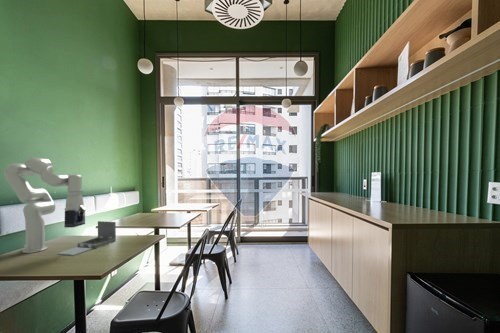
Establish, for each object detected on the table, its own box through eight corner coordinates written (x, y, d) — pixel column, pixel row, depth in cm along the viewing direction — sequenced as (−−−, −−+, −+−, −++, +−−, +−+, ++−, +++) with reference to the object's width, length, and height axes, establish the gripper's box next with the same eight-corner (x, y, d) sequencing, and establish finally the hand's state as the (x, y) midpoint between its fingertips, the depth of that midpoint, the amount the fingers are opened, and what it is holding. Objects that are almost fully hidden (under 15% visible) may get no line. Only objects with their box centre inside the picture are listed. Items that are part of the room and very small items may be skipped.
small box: (74, 227, 153) (74, 210, 153) (63, 227, 153) (63, 210, 153) (85, 223, 163) (85, 208, 164) (76, 224, 164) (76, 208, 164)
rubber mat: (57, 254, 154) (57, 253, 154) (77, 247, 166) (77, 246, 166) (73, 255, 150) (73, 254, 150) (92, 249, 163) (92, 248, 163)
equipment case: (76, 247, 167) (76, 226, 167) (99, 240, 184) (99, 221, 184) (94, 248, 163) (94, 227, 163) (115, 241, 180) (115, 221, 180)
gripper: (58, 194, 157) (59, 222, 157) (80, 194, 153) (80, 223, 152) (70, 193, 165) (70, 219, 164) (90, 193, 160) (91, 220, 160)
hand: (75, 221), depth 158 cm, fingers closed on small box, 7 cm apart
